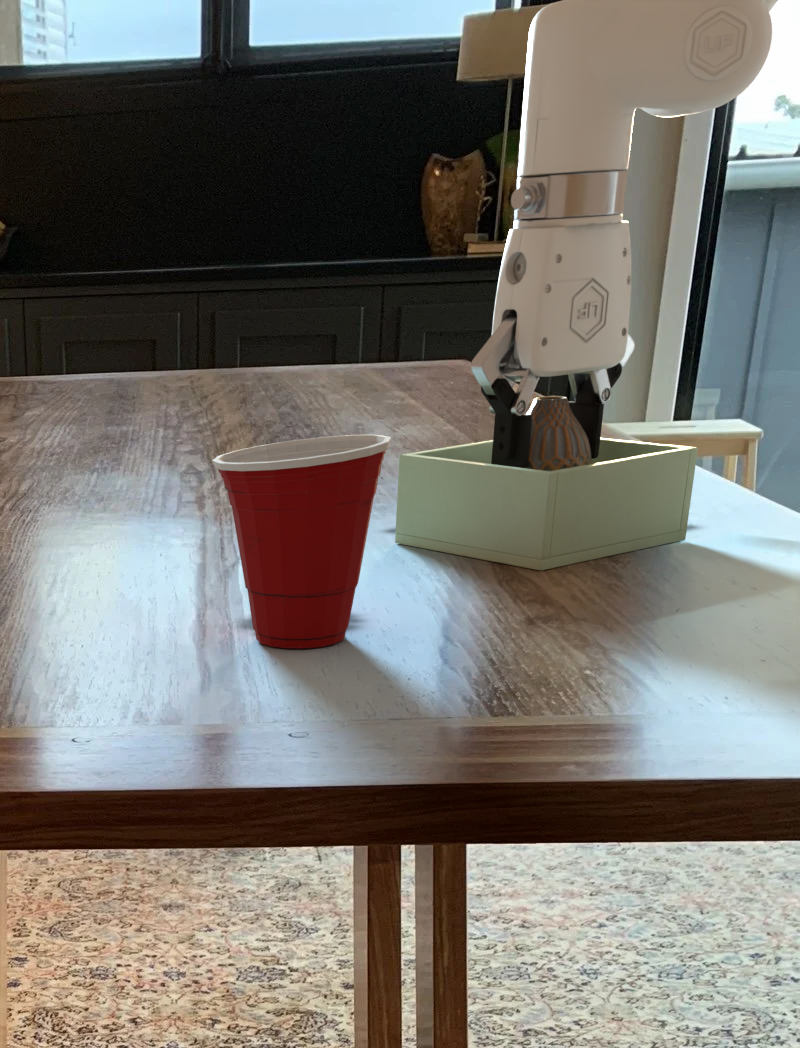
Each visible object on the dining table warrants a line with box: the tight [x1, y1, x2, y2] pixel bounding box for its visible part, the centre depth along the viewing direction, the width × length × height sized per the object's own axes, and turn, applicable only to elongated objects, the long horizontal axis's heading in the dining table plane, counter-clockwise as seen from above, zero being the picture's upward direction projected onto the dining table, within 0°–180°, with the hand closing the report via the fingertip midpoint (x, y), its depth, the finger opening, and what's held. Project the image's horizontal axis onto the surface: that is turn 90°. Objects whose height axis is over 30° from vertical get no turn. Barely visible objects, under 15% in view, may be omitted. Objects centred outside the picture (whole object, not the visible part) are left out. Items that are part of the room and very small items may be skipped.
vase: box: [525, 395, 591, 471], centre depth 118 cm, size 7×7×9 cm
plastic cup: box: [211, 434, 392, 650], centre depth 96 cm, size 11×11×12 cm
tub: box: [394, 437, 699, 572], centre depth 119 cm, size 16×16×7 cm
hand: (544, 461), depth 118 cm, fingers closed on vase, 6 cm apart
